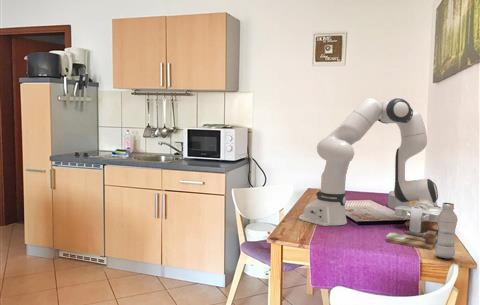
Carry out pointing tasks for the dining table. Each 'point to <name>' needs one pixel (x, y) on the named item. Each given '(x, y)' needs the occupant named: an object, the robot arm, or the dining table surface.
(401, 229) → the dining table surface
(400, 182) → the robot arm
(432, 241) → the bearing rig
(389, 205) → the lumpy-topped squat cylinder
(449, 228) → the plastic bottle
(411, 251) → the dining table surface
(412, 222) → the spacer sleeve
